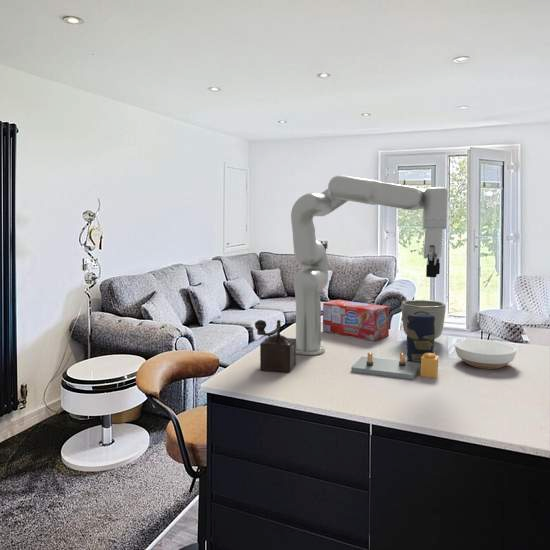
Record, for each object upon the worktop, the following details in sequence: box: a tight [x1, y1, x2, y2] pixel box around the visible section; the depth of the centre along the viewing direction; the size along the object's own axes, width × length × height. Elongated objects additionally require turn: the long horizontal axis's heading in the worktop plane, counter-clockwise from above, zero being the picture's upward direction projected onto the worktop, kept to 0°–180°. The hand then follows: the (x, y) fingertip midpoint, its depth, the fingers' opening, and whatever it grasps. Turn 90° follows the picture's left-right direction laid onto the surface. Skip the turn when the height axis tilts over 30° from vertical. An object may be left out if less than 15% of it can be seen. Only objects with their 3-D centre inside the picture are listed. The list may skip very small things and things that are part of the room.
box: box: [322, 299, 390, 342], centre depth 212 cm, size 27×13×14 cm, turn 48°
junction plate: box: [350, 355, 421, 380], centre depth 162 cm, size 20×14×2 cm
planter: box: [401, 299, 446, 341], centre depth 198 cm, size 17×17×16 cm
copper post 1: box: [367, 352, 373, 366], centre depth 162 cm, size 2×2×6 cm
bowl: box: [454, 339, 517, 370], centre depth 167 cm, size 20×20×6 cm
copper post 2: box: [399, 352, 406, 366], centre depth 161 cm, size 2×2×6 cm
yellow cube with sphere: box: [420, 352, 439, 379], centre depth 156 cm, size 5×5×7 cm
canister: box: [406, 311, 435, 364], centre depth 171 cm, size 10×10×18 cm
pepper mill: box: [254, 319, 297, 374], centre depth 161 cm, size 16×11×18 cm
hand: (433, 275), depth 163 cm, fingers open, 9 cm apart
